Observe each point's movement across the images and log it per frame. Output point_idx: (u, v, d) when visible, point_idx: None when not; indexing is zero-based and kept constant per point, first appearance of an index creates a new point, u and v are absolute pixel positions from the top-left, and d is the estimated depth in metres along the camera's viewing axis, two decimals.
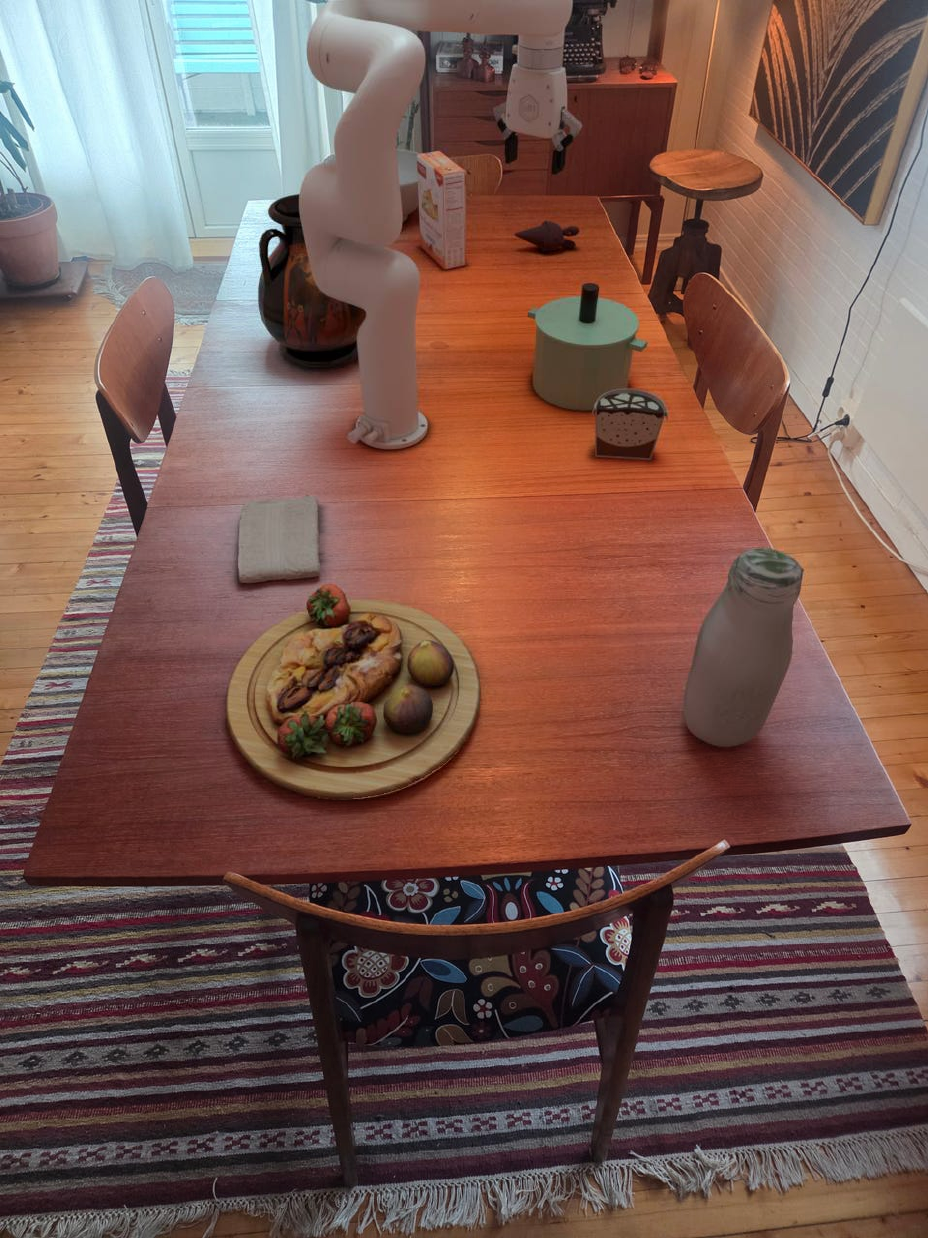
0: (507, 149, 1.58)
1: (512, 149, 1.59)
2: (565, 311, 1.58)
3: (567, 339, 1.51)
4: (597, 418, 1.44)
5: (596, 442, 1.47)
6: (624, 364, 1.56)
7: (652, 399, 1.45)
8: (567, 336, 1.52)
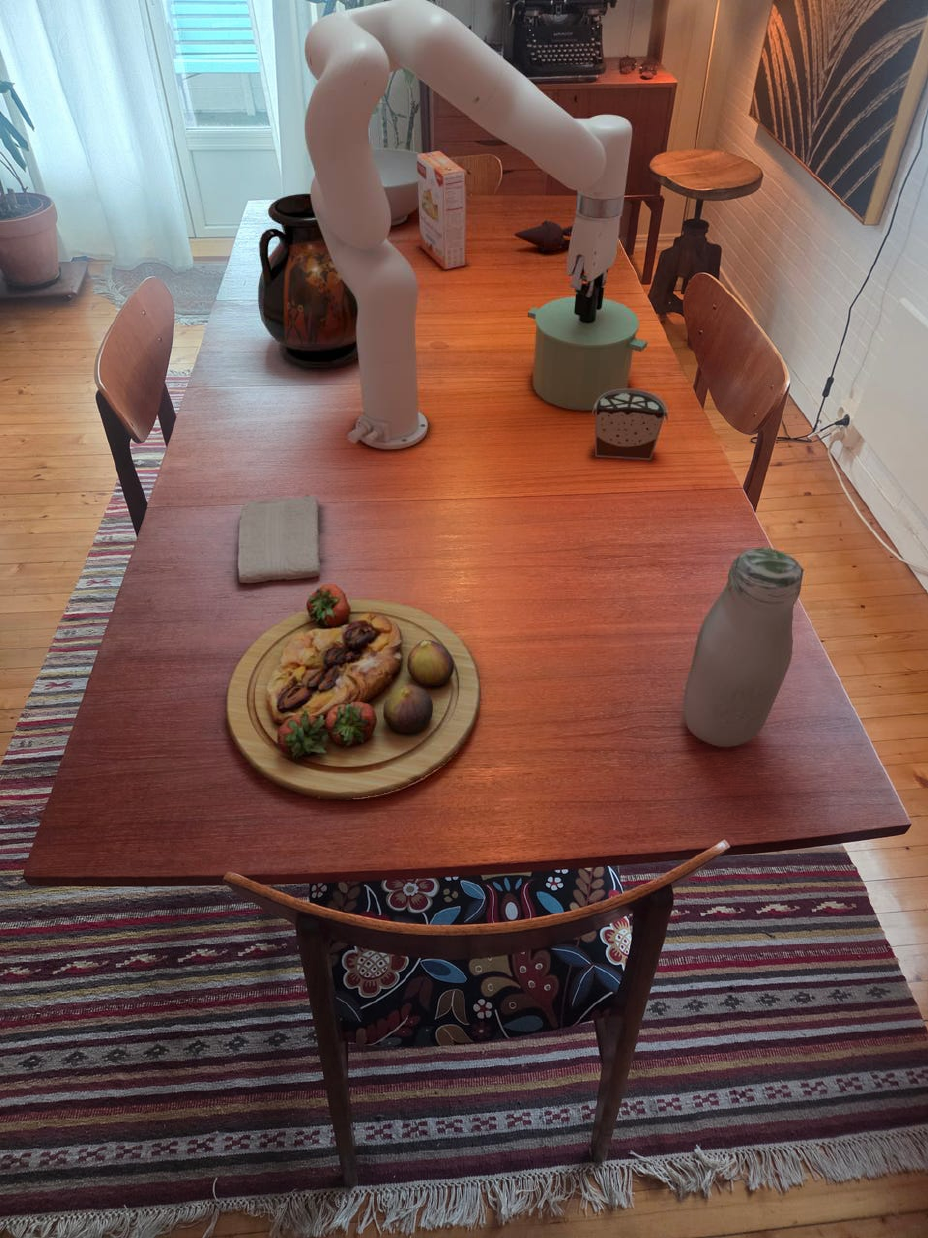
0: None
1: None
2: (565, 311, 1.58)
3: (567, 339, 1.51)
4: (597, 418, 1.44)
5: (596, 442, 1.47)
6: (624, 364, 1.56)
7: (652, 399, 1.45)
8: (567, 336, 1.52)
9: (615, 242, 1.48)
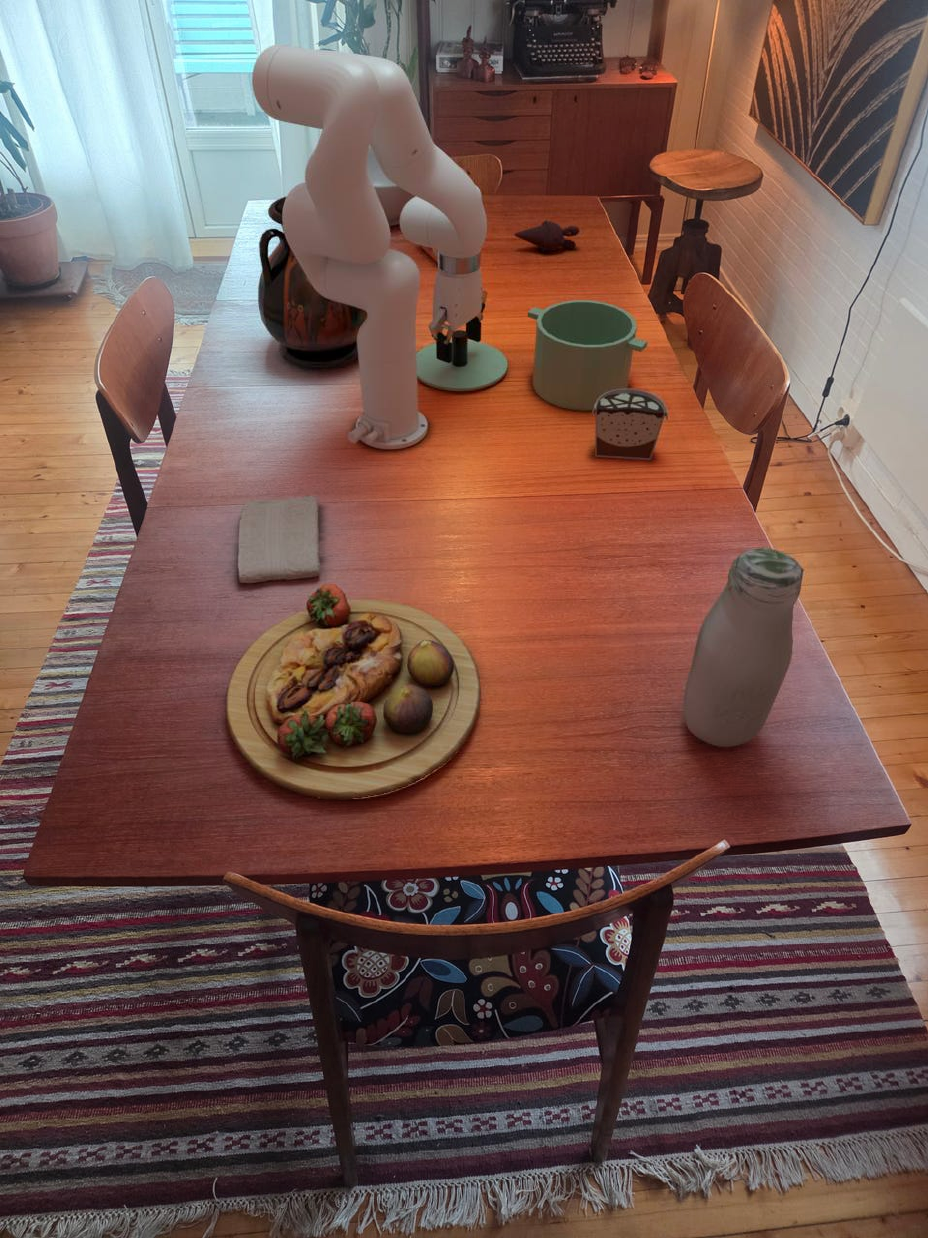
0: (466, 325, 1.68)
1: (470, 329, 1.68)
2: None
3: (437, 382, 1.64)
4: (597, 418, 1.44)
5: (596, 442, 1.47)
6: (624, 364, 1.56)
7: (652, 399, 1.45)
8: (438, 379, 1.64)
9: (478, 294, 1.60)
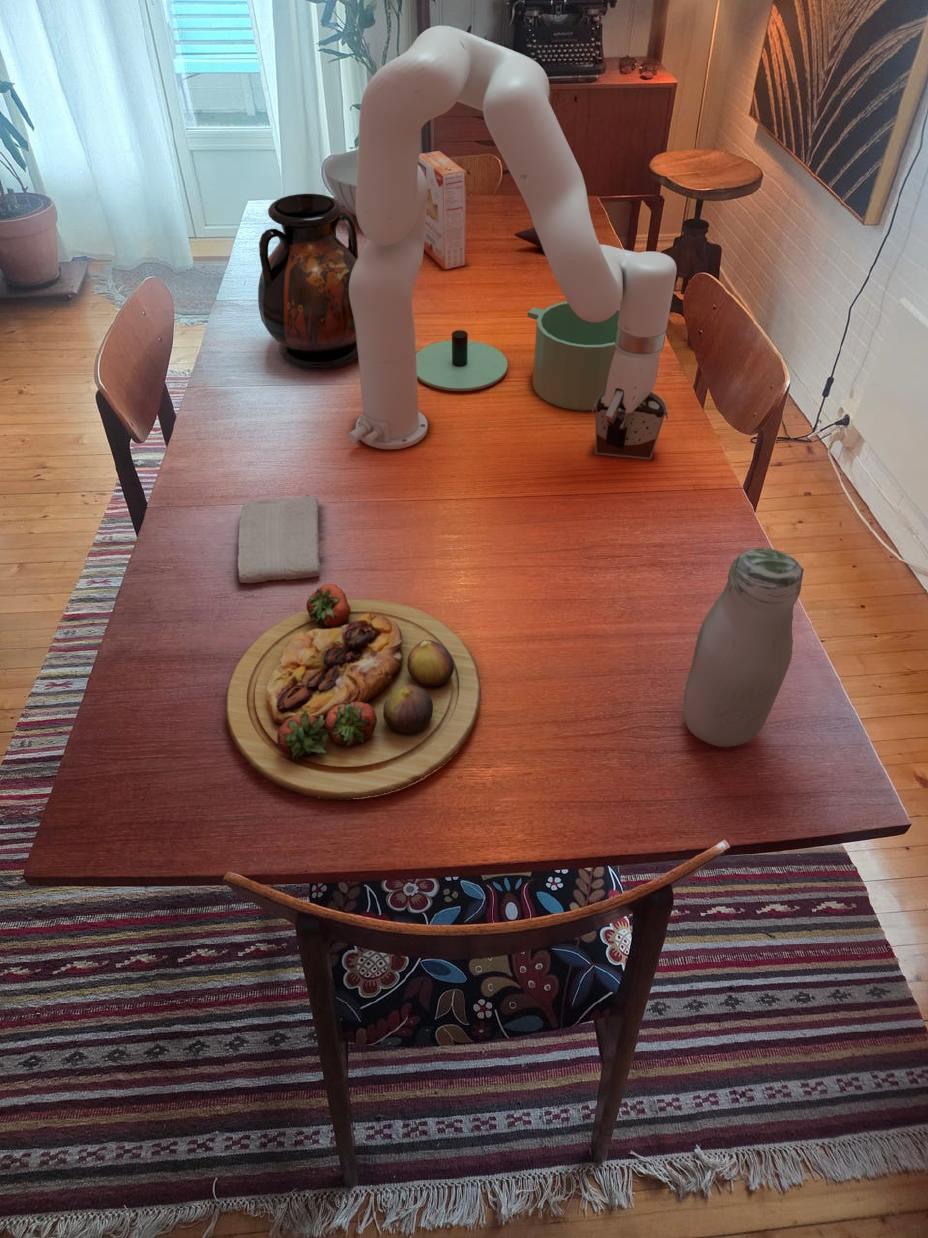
0: None
1: None
2: (441, 355, 1.71)
3: (437, 382, 1.64)
4: (597, 416, 1.45)
5: (596, 440, 1.48)
6: None
7: (654, 399, 1.45)
8: (438, 379, 1.64)
9: (655, 372, 1.42)
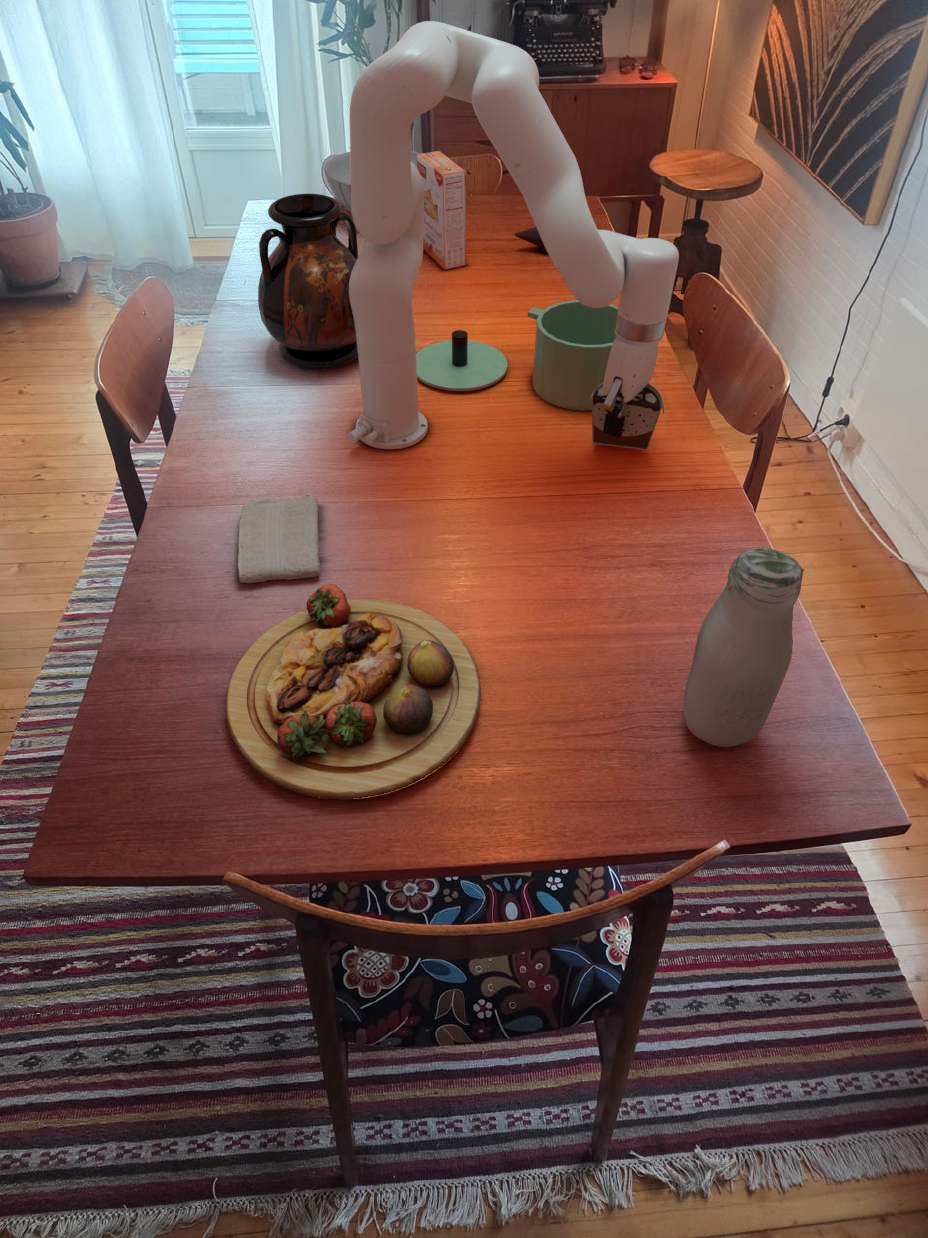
0: None
1: None
2: (441, 355, 1.71)
3: (437, 382, 1.64)
4: (593, 408, 1.44)
5: (593, 430, 1.48)
6: None
7: (651, 391, 1.44)
8: (438, 379, 1.64)
9: (654, 361, 1.41)
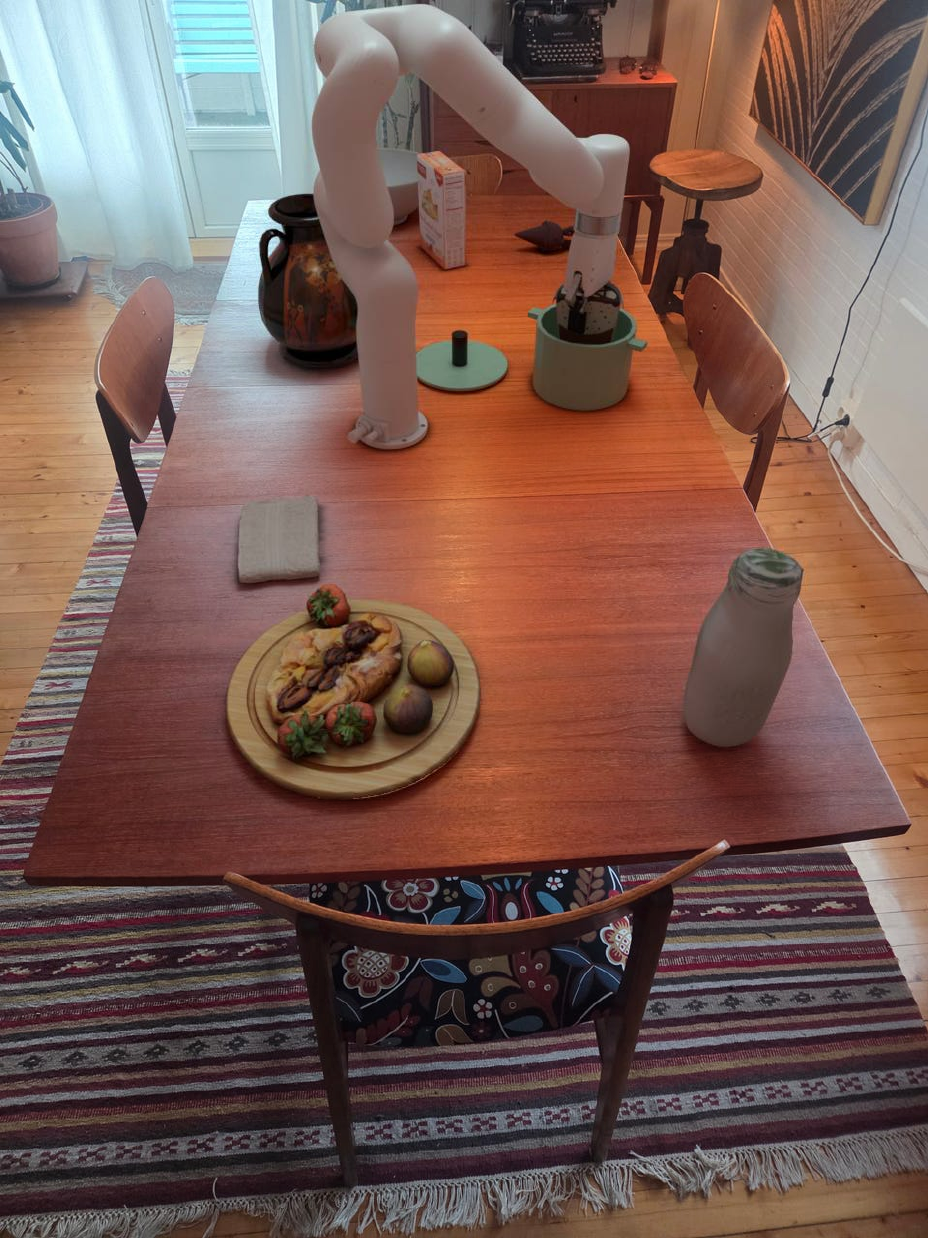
0: None
1: None
2: (441, 355, 1.71)
3: (437, 382, 1.64)
4: (558, 306, 1.53)
5: (558, 329, 1.56)
6: (624, 364, 1.56)
7: (612, 288, 1.52)
8: (438, 379, 1.64)
9: (612, 258, 1.50)
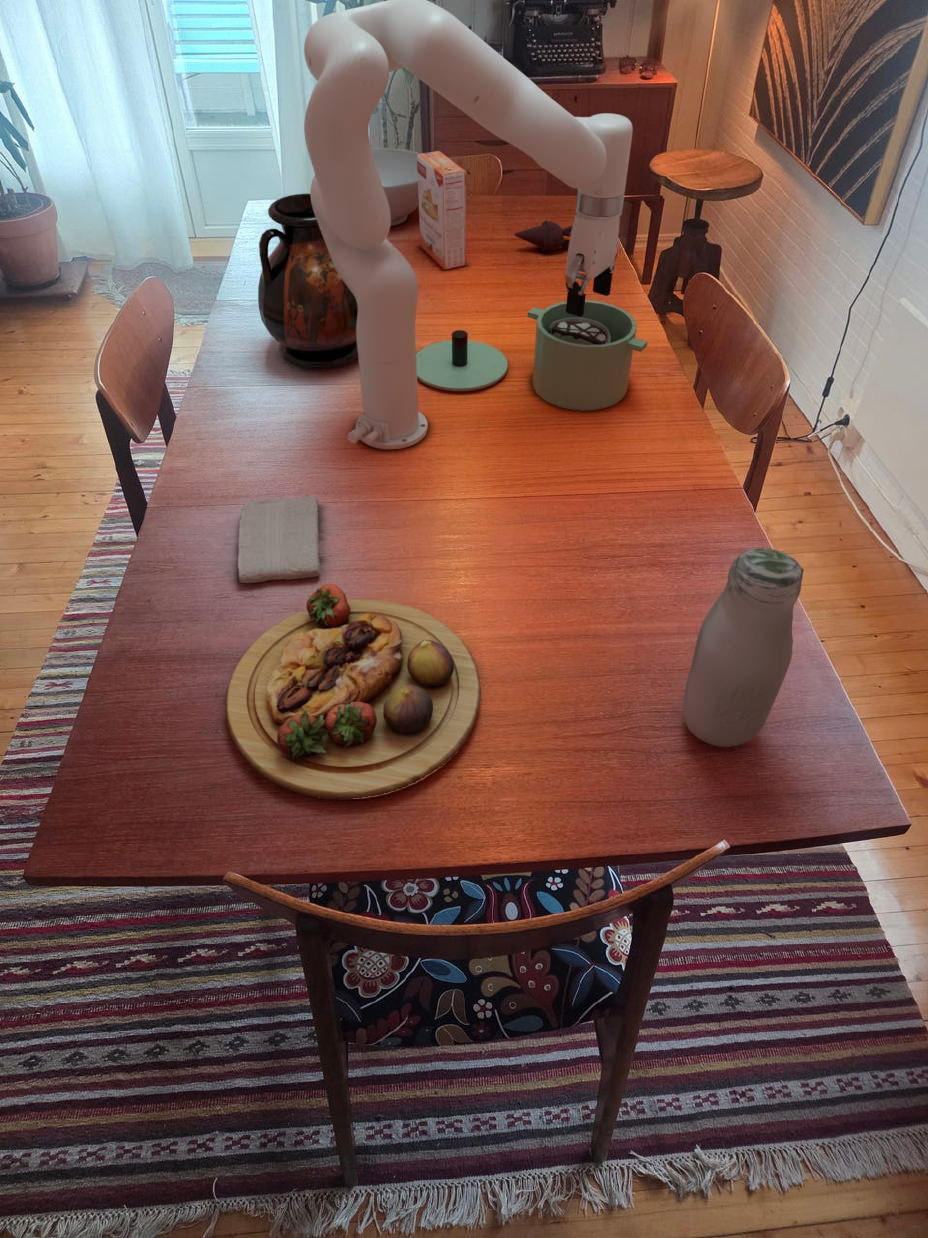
0: (594, 278, 1.56)
1: (599, 281, 1.55)
2: (441, 355, 1.71)
3: (437, 382, 1.64)
4: None
5: None
6: (624, 364, 1.56)
7: (605, 333, 1.60)
8: (438, 379, 1.64)
9: (615, 241, 1.47)
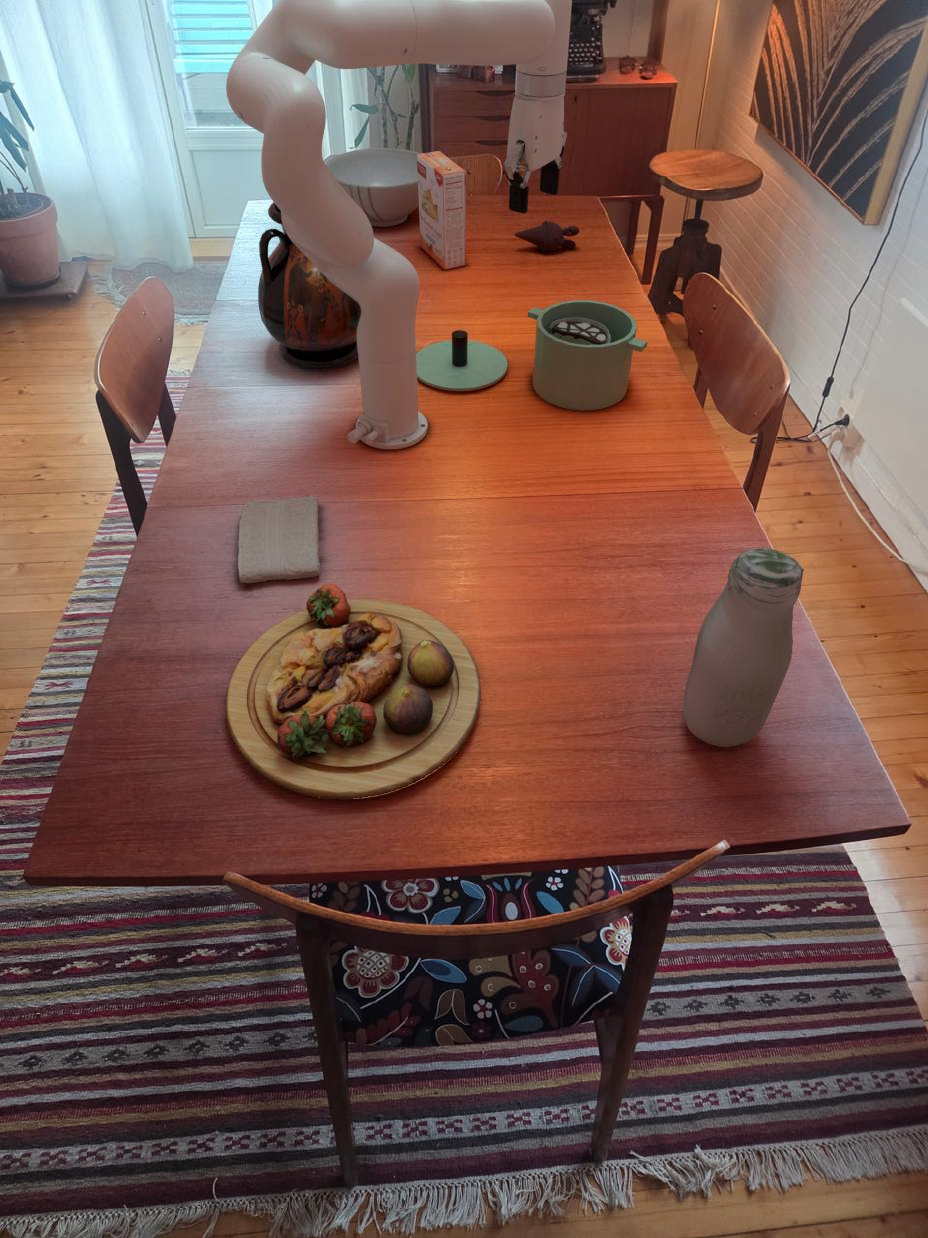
0: None
1: (546, 179, 1.45)
2: (441, 355, 1.71)
3: (437, 382, 1.64)
4: None
5: None
6: (624, 364, 1.56)
7: (605, 333, 1.60)
8: (438, 379, 1.64)
9: (559, 129, 1.37)
